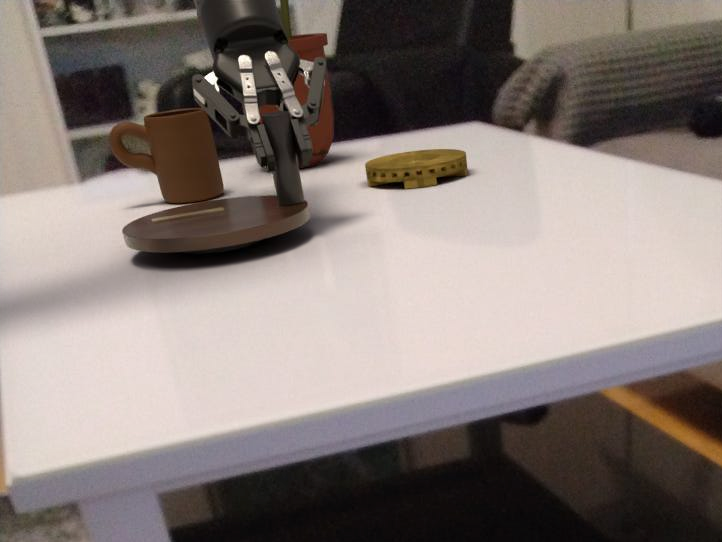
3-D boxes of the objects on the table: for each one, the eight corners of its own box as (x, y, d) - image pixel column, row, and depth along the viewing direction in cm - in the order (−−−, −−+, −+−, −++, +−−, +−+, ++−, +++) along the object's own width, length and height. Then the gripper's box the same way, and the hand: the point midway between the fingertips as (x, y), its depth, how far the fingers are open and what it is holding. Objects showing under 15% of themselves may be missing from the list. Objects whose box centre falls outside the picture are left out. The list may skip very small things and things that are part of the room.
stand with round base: (93, 258, 100) (58, 140, 95) (237, 217, 111) (214, 108, 105) (203, 275, 90) (172, 144, 84) (350, 228, 101) (331, 108, 95)
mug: (127, 213, 121) (103, 125, 116) (126, 203, 127) (103, 119, 122) (228, 197, 123) (209, 110, 118) (222, 188, 129) (204, 105, 124)
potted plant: (262, 161, 145) (201, -148, 126) (369, 150, 144) (325, -163, 124) (232, 185, 131) (158, -160, 111) (351, 173, 129) (298, -178, 110)
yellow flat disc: (415, 166, 129) (413, 148, 127) (488, 170, 122) (486, 150, 121) (347, 186, 121) (344, 166, 120) (420, 191, 115) (417, 170, 113)
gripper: (161, -13, 94) (213, 148, 92) (307, -31, 98) (361, 124, 95) (169, 50, 102) (218, 201, 99) (306, 32, 105) (356, 177, 102)
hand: (288, 162), depth 97 cm, fingers closed on stand with round base, 2 cm apart
